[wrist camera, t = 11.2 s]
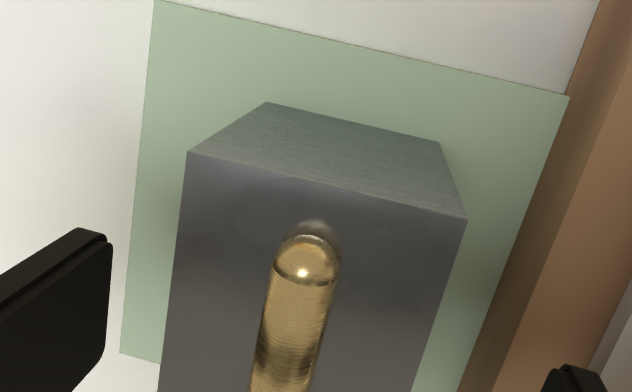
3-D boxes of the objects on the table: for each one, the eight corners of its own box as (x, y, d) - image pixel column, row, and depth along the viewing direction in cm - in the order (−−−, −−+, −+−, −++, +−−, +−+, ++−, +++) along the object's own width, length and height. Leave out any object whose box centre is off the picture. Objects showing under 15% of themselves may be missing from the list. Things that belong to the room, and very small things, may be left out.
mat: (582, 99, 14) (589, 101, 13) (449, 435, 18) (451, 446, 18) (161, 0, 15) (154, -1, 14) (126, 344, 19) (119, 352, 18)
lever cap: (439, 142, 14) (476, 241, 8) (370, 372, 17) (356, 586, 11) (266, 101, 15) (166, 164, 8) (226, 333, 17) (127, 518, 11)
